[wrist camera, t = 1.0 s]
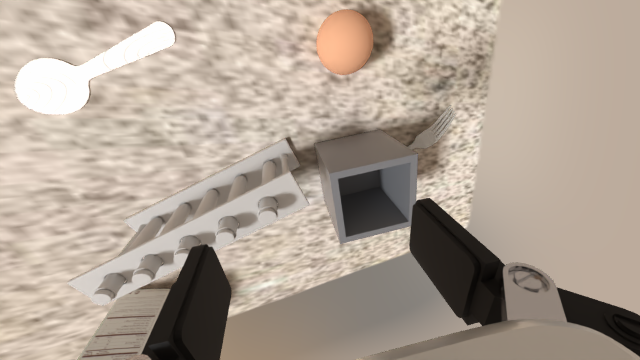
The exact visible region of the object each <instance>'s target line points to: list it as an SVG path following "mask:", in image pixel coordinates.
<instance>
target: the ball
mask: <svg viewBox="0 0 640 360" xmlns="http://www.w3.org/2000/svg"><path fill="white" fill-rule="evenodd" d="M372 48H373V33H372V29H371V26H370V24H369V23H368V21H367V20H366V19H365V17H364V16H362V15H361V14H360V13H358V12H356V11H353V10H340V11H337V12H335V13H333V14H331V15H330V16H329V17H327V19H326V20H325V21H324V22H323V24H322V25H321V27H320V29H319V32H318V36H317V52H318V55H319V58H320V60H321V62H322V64H323V65H324V66H325V67H326V68H327V69H328V70H330V71H331V72H333V73H336V74H340V75H347V74H351V73H354V72H356V71H358V70H359V69H360V68H362V67H363V66H364V65H365V63H366V62H367V60H368V59H369V57H370V55H371V52H372Z"/></svg>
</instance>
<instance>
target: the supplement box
mask: <svg viewBox="0 0 640 360" xmlns="http://www.w3.org/2000/svg"><path fill="white" fill-rule="evenodd" d="M169 291H170V289H136V290H134V291H132V292H130V293H128V294H126V295H124V296H122V297H120V298H118V299H117V300H116V302H115V303H114V305H113V306H112V308H111V309H110V311H109V312H108V314H107V315H106V317H105V318H104V320H103V321H102V323H101V324H100V326H99V327H98V329H97V330H96V332H95V333H94V335H93V336H92V338H91V339H90V341H89V342H88V344H87V345H86V347H85V349H84V350H83V351H82V353H81V354H80V356H79V357H78V359H77V360H126V359H128V358H130V357H132V356H134V355H140V354H141V353H142V351H143V349H144V347H145V344H146V342H147V340H148V338H149V335H150V333H151V331H152V329H153V327H154V324H155V322H156V320H157V318H158V316H159V313H160V311H161V309H162V307H163V304H164V302H165V300H166V298H167V296H168V293H169Z"/></svg>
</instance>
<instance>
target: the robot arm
mask: <svg viewBox="0 0 640 360" xmlns="http://www.w3.org/2000/svg"><path fill="white" fill-rule="evenodd" d="M410 251H411V253H412V254H413V256H414V257H415V259H416V260H417V261H418V263H419V264H420V266H421V267H422V268H423V270H424V271H425V273H426V274H427V275H428V277H429V278H430V279H431V281H432V282H433V284H434V285H435V286H436V288H437V289H438V291H439V292H440V293H441V295H442V296H443V297H444V299H445V300H446V302H447V303H448V305H449V306H450V307H451V309H452V310H453V311H454V313H455V314H456V315H457V316H458V317H459V318H462V319H463V320H464V321H465V323H466V324H467V325H471V324H474V323H478V322H480V324H481V325H482V326H481V327H477V328H473V329H469V330H465V331H461V332H456V333H453V334H449V335H446V336H441V337H438V338H434V339H430V340H427V341H422V342H419V343H415V344H411V345H407V346H404V347H400V348H396V349H392V350H389V351H385V352H382V353H378V354H374V355H370V356H367V357H363V358H360V359H356V360H640V316H639V315H638V314H636V313H633V312H631V311H628V310H626V309H623V308H620V307H617V306H614V305H610V304H607V303H604V302H601V301H598V300H595V299H592V298H589V297H585V296H582V295H579V294H576V293H573V292H570V291H567V290H563V289H560V288H557V287H556V285H555V283H554V281H553V280H552V279H551V278H550V277H549V276H548V275H547V274H546V273H544V272H543V271H541V270H539V269H538V268H535V267H534V266H531V265H528V264H524V263H509V264H506V265H504V264H503V263H502V262H501V261H500V259H499V258H498V257H496V256H495V255H494V254H493V253H492V252H491V251H490V250H488V249H487V248H486V247H485V246H484V245H483V244H482V243H480V242H479V241H478V240H477V239H476V238H475V237H474V236H472V235H471V234H470V233H469V232H468V231H467V230H466V229H465V228H463V227H462V226H461V225H460V224H459V223H458V222H457V221H455V220H454V219H453V218H452V217H451V216H450V215H449V214H447V213H446V212H445V211H444V210H443V209H442V208H441V207H439V206H438V205H437V204H436V203H435V202H434V201H433V200H431V199H430V198H426V199H421V200H417V201H416V203H415V204H414V205H413V208H412V220H411V233H410ZM230 299H231V287H230V285H229V282H228V280H227V278H226V276H225V273H224V271H223V269H222V267H221V264H220V262H219V260H218V258H217V255H216V253H215V251H214V249H213V247H209V246H208V245H207V244H204V245H199V246H194V247H192V248H191V249H190V252H189V254H188V256H187V258H186V261H185V263H184V265H183V268H182V270H181V272H180V274H179V277H178V279H177V281H176V282H175V283H174V284H173V285H172V287H171V289H170V291H169V293H168V296H167V298H166V300H165V302H164V304H163V307H162V309H161V311H160V313H159V316H158V318H157V320H156V322H155V324H154V327H153V329H152V331H151V333H150V335H149V338H148V340H147V342H146V344H145V347H144V349H143V351H142V353H141V354H140V355H134V356H132V357H130V358H128V359H126V360H220V354H221V349H222V343H223V337H224V332H225V327H226V321H227V315H228V310H229V304H230Z"/></svg>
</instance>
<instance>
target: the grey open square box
mask: <svg viewBox="0 0 640 360" xmlns="http://www.w3.org/2000/svg"><path fill="white" fill-rule="evenodd" d="M314 145H315V150H316V156H317V162H318V167H319V173H320V178H321V184H322V190H323V195H324V201H325V203H326V206H327V209H328V212H329V214H330V217H331V220H332V223H333V225H334V228H335V231H336V233H337V236H338V239H339V242H340V244H342V243H346V242H350V241H354V240H358V239H362V238H366V237H370V236H374V235H378V234H382V233H386V232H389V231H393V230H397V229H401V228H405V227H409V226H411V220H412V208H413V205H414V204H415V203H416V190H417V166H418V153H416V152H414V151H413V150H411V149H410V148H408V147H407V146H405V145H404V144H402V143H400V142H399V141H397V140H396V139H394V138H393V137H391V136H389V135H388V134H386V133H385V132H383V131H382V130H375V131H370V132H366V133H361V134H356V135H351V136H347V137H342V138H337V139H333V140H328V141H323V142H319V143H314Z"/></svg>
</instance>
